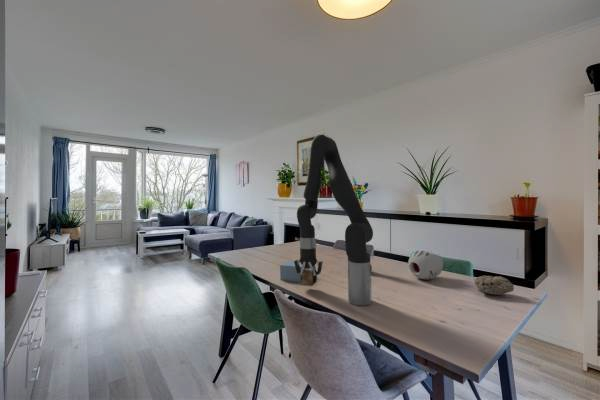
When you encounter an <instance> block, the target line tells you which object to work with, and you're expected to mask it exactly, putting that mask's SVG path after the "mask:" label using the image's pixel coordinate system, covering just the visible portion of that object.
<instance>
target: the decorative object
mask: <svg viewBox="0 0 600 400" xmlns="http://www.w3.org/2000/svg"><path fill="white" fill-rule="evenodd" d="M408 267H409V270H410V272H411V273H412V275H414V276H415V277H417V278H419V279H420V280H432V279H434V278H437V277H438V276H439V275H441V273H442V271H443V269H444V268H445V264H444V260H443V258H442V256H441V255H438V254H436V253H434V252H433V253H432V252H430V251H426V250H416V251H414V252H413V253H412V254H410V257H409V258H408Z"/></svg>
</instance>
